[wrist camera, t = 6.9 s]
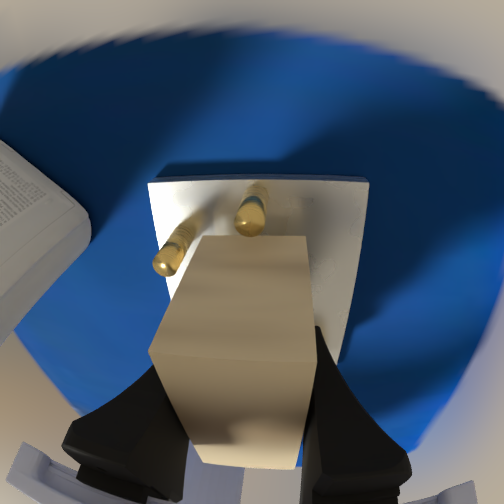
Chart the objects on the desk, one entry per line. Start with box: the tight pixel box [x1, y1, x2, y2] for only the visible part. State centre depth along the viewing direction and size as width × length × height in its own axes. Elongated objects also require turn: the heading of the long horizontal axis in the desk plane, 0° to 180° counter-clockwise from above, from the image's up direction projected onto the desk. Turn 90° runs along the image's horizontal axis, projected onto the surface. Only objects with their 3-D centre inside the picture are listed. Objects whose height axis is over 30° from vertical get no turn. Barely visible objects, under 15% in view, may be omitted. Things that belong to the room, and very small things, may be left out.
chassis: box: [148, 174, 369, 365], centre depth 14 cm, size 12×9×3 cm
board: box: [148, 235, 317, 469], centre depth 11 cm, size 8×4×6 cm, turn 3°
